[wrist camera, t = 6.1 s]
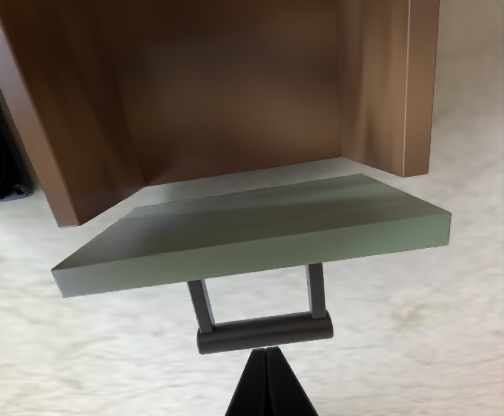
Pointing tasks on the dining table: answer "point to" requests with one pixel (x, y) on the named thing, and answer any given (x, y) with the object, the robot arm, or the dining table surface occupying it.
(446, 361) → the dining table surface
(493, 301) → the dining table surface
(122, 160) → the drawer
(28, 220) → the dining table surface
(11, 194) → the robot arm
